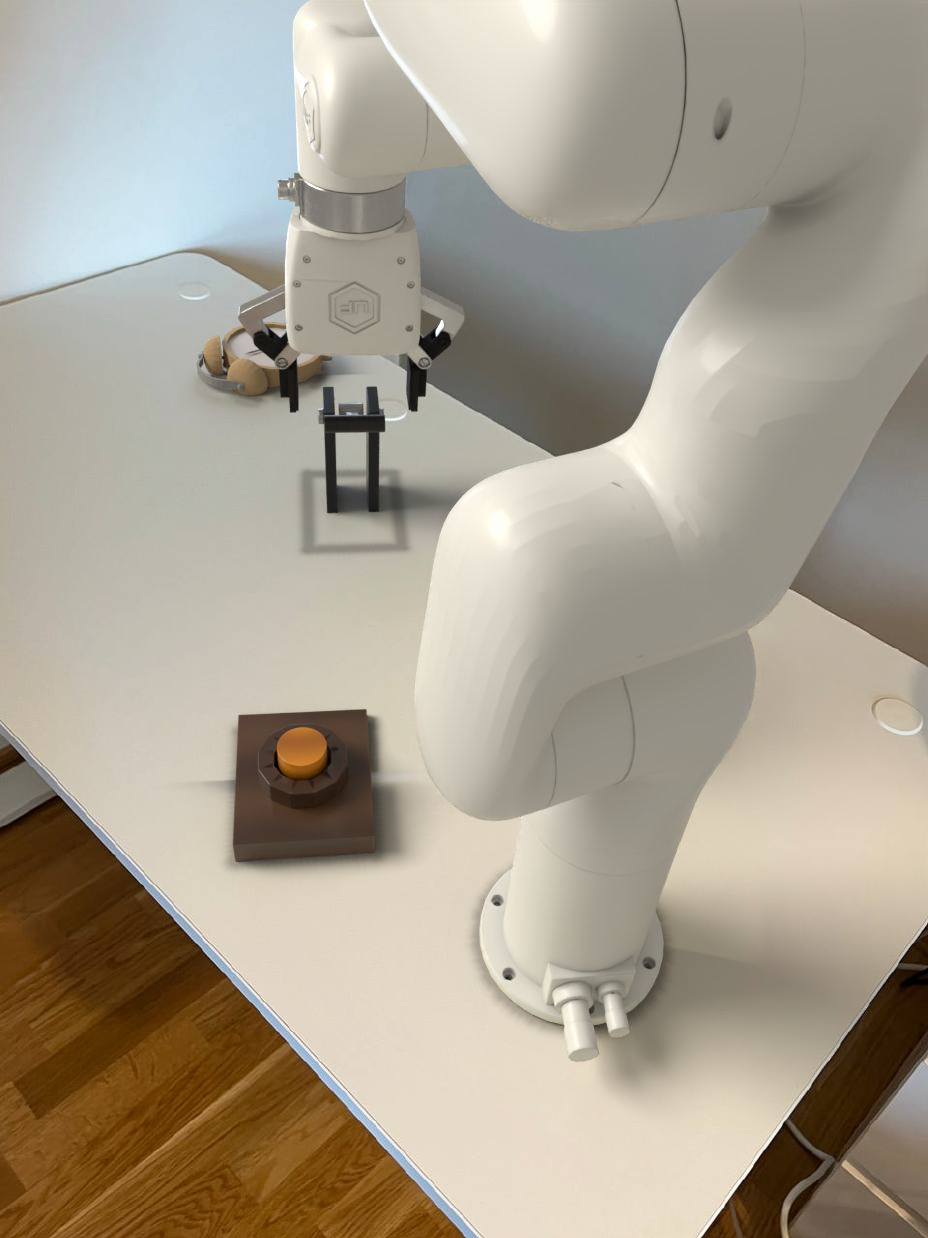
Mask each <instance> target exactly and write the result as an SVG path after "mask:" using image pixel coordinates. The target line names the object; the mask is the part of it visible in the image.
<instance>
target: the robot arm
mask: <svg viewBox="0 0 928 1238" xmlns="http://www.w3.org/2000/svg"><path fill="white" fill-rule="evenodd" d="M292 56H293V57H292V58H293V60H292V61H293V80H294V81H293V82H294V104H295V105H294V107H295V131H296V154H297V155H296V156H297V157H296V158H297V172H294V173H293V177H291V176H289V177H287V178H288V179H283V178H282V179H281V178H277V195H278V196H277V197H278V200H279V201H280V200H281V201H282V200H284V201H285V200H287V201H289V203H290V202H291V203H292V202H293V203H294V206H295V207H294V208H293V209H292V210H291V214H290V218H289V221H288V222H289V223H288V227H287V234H286V241H285V243H286V244H285V260H284V284H282V285H280V286H278V287H276V288H274V289H271V290H270V291H268V292H265V293H263V294H261V295H259V296H257V297H255V298H253V299H251V300H249V301H246V302H244V303H242V304H241V305H239V307H238V316H237V319H238V321H239V323H240V324H241V326H243V327H244V329H245V330H246V332H247V333H248V335H249V336H251V338H252V339H253V342H254V345H255V346H256V347H257V348H258V349H259V350H261V351H262V352H263V353H264V354H266V355H267V356H268V357H269V358H270V359H272V360H273V361H274V364H275V366H276V367H277V368H278V369H279V380H280V387H279V393H280V395H279V396H280V398H281V399H287V398H288V403H289V413H290V414H292V413H293V414H294V413H297V412H299V411H300V405H299V403H300V399H299V396H300V394H299V383H298V370H297V357H298V356H299V355H300V354H301V353H303V354H308V355H325V356H400V355H404V354H406V356H407V357H406V383H405V392H406V401H407V408H408V411H410V412H411V413H415V412H416V413H417V412H419V411H418V409H419V398H425V397H426V395H427V377H428V369H430V368H431V366H432V365H433V361H434V360H436V358H437V357H439V356H440V355H441V354H442V353H444V351H446V350H447V349H448V348H449V347H450V346H451V344H452V341H453V339H454V337H455V336H457V334H458V333H459V331H460V329H461V327H462V326H463V325H464V323H465V321H466V315H465V311H464V308H463V306H462V305H459V304H457V303H456V302H453V301H452V300H450V299H448V298H446V297H443V296H441V295H440V294H438V293H436V292H434V291H432V290H430V289H428V288H426V287H423V286H422V280H421V277H422V276H421V274H422V273H421V255H420V254H421V253H420V244H419V236H418V231H417V226H416V220H415V218H414V216H413V214H412V212H411V211H410V210H409V209H408V208H406V192H407V174H410V173H414V172H421V171H430V170H439V169H447V168H455V167H467V166H473V167H474V169H475V170H476V172H477V173H478V174H479V175H480V176H481V178H482V179H483V180H484V182H485V183H486V184H487V185H488V187H489V188H490V190H491V191H492V192H493V193H494V194H495V195H496V196H497V197H498V198H499V199H500V200H501V201H502V202H503V203H504V204H505V205H506V206H507V207H509V208H510V209H511V210H512V211H513V212H515V213H516V214H518V215H519V216H520V217H522V218H524V219H526V220H528V221H530V222H532V223H534V224H536V225H540V226H542V227H546V228H549V229H552V230H557V231H561V232H562V231H563V232H571V233H587V232H588V233H589V232H603V231H612V230H619V229H624V228H630V227H631V228H632V227H637V226H644V225H650V224H651V225H652V224H657V223H663V222H670V221H671V222H672V221H677V220H685V219H691V218H699V217H705V216H712V215H718V214H726V213H732V212H738V211H744V210H750V209H756V208H761V207H762V208H763V207H766V212H765V214H764V216H763V219H762V220H761V222H760V223H759V225H758V226H757V227H756V229H754V231H753V232H752V233H751V235H750V236H749V237H748V238H747V239H746V240H745V241H744V243H742V244H741V246H739V248H738V249H736V250H735V252H733V253H732V255H730V257H728V258H727V260H726V261H725V262H723V264H722V265H721V266H720V267H719V268H718V269H717V270H716V272H715V273H714V274H713V275H712V276H711V277H710V278H709V279H708V281H706V282H705V284H704V285H703V286H702V287H701V289H700V290H699V291H698V293H697V294H696V295H695V296H694V297H693V299H692V300H691V301H690V303H689V304H688V305H687V307H686V309H685V310H684V312H683V313H682V315H681V316H680V318H679V319H678V321H677V322H676V324H675V326H674V328H673V330H672V332H671V333H670V335H669V337H668V338H667V340H666V342H665V344H664V347H663V349H662V351H661V354H660V356H659V359H658V361H657V365H656V368H655V372H654V375H653V379H652V381H651V386H650V388H649V391H648V394H647V396H646V399H645V401H644V403H643V406H642V408H641V409H640V412H639V414H638V416H637V418H636V419H635V421H634V422H633V424H632V425H631V427H630V428H628V429H627V431H625V432H624V433H623V434H620V435H618V436H617V437H615V438H613V439H611V440H609V441H607V442H605V443H602V444H599V445H597V446H594V447H591V448H586V449H583V450H579V451H575V452H570V453H566V454H562V455H557V456H554V457H550V458H545V459H540V460H537V461H533V462H528V463H525V464H520V465H518V466H517V465H516V466H514V467H511V468H508V469H505V470H502V471H499V472H497V473H495V474H493V475H490V476H488V477H486V478H484V479H482V480H481V481H479V482H478V483H476V484H475V485H473V486H472V487H470V489H468V490H467V491H466V492H465V493H464V494H462V496H461V497H460V498H459V499H458V500H457V502H456V503H455V505H454V506H453V507H452V509H451V510H450V511H449V512H448V515H447V517H446V518H445V520H444V522H443V524H442V527H441V530H440V532H439V536H438V541H437V545H436V549H435V554H434V559H433V564H432V570H431V577H430V584H429V589H428V596H427V601H426V602H427V603H426V607H425V616H424V621H423V628H422V634H421V640H420V644H419V645H420V646H419V651H418V652H419V653H418V657H417V665H416V671H415V672H416V673H415V681H414V695H413V696H414V697H413V707H414V708H413V711H414V724H415V732H416V740H417V745H418V749H419V752H420V756H421V758H422V761H423V765H424V767H425V769H426V772H427V774H428V777H429V779H430V780H431V782H432V784H433V785H434V786H435V788H436V789H437V791H438V792H439V793H440V794H441V796H442V797H443V798H444V799H445V800H446V801H447V802H448V803H449V804H450V805H451V806H453V807H454V808H455V809H456V810H458V811H460V812H461V813H463V814H465V815H467V816H468V817H472V818H474V819H477V820H481V821H487V822H502V821H509V820H510V821H511V820H514V819H517V818H520V821H519V827H518V833H517V837H516V838H517V839H516V844H515V850H514V855H513V862H512V867H511V868H510V869H508V871H506V872H505V873H504V874H502V875H501V876H500V878H499V879H498V880H497V881H496V882H495V883H494V885H492V887H491V889H490V891H489V892H488V894H487V896H486V897H485V899H484V900H485V901H484V904H483V907H482V911H481V914H480V921H479V930H478V931H479V932H478V933H479V946H480V951H481V954H482V959H483V962H484V964H485V966H486V968H487V970H488V973H489V975H490V977H491V978H492V979H493V981H494V982H495V984H496V985H497V987H498V988H499V990H500V991H501V992H502V993H503V994H504V995H506V997H507V998H509V999H510V1001H512V1002H513V1003H514V1004H515V1005H517V1006H518V1007H520V1008H521V1009H522V1010H524V1011H526V1012H527V1013H528V1014H530V1015H533V1016H535V1017H537V1018H539V1019H542V1020H544V1021H547V1022H550V1023H554V1024H558V1025H562V1026H564V1028H563V1035H564V1041H565V1046H566V1051H567V1057H568V1059H569V1060H570V1061H571V1062H576V1063H579V1062H580V1063H581V1062H588V1061H591V1060H593V1059H595V1058H597V1057H598V1056H599V1055H600V1051H599V1045H598V1040H597V1035H596V1031H595V1026H597V1025H603V1024H606V1027H607V1032H608V1036H609V1037H611V1038H618V1039H619V1038H623V1037H625V1036H628V1035H629V1034H630V1033H631V1029H630V1023H629V1019H628V1015H627V1014H628V1013H630V1012H631V1011H633V1010H634V1009H635V1008H636V1007H637V1006H638V1005H639V1004H640V1003H641V1002H643V1001H644V1000H645V999H646V998H647V996H648V994H649V993H650V991H651V990H652V989H653V987H654V985H655V982H656V980H657V978H658V975H659V973H660V970H661V966H662V962H663V958H664V945H665V943H664V942H665V941H664V935H663V929H662V925H661V921H660V919H659V916H658V914H657V911H656V910H657V907H658V904H659V901H660V900H661V899H660V898H661V896H662V893H663V890H664V887H665V886H666V885H665V884H666V882H667V879H668V877H669V874H670V871H671V869H672V865H673V863H674V861H675V857H676V854H677V851H678V849H679V846H680V844H681V842H682V839H683V837H684V834H685V832H686V829H687V826H688V824H689V820H690V819H691V816H692V813H693V810H694V808H695V805H696V803H697V801H698V799H699V797H700V795H701V793H702V791H703V789H704V787H705V786H706V784H707V783H708V781H709V780H710V779H711V777H712V776H713V774H714V772H715V771H716V770H717V768H719V765H720V764H722V761H723V760H724V758H725V757H726V756H727V754H728V753H729V752H730V750H731V749H732V747H733V746H734V744H735V742H736V741H737V738H738V737H739V735H740V734H741V732H742V729H743V728H744V725H745V723H746V721H747V719H748V717H749V713H750V711H751V708H752V705H753V700H754V697H755V690H756V681H757V680H756V679H757V664H756V655H755V649H754V646H753V642H752V638H751V637H750V634H749V631H750V630H751V629H753V628H755V627H756V626H757V625H759V624H760V623H762V622H763V621H764V620H765V619H766V618H767V617H768V616H769V615H771V614H772V612H773V611H774V610H775V609H776V607H777V606H778V605H779V604H780V603H781V601H782V600H783V598H784V596H785V595H786V593H787V592H788V591H789V589H790V588H791V585H792V584H793V582H794V581H795V578H796V577H797V575H798V574H799V573H800V570H801V568H802V567H803V565H804V563H805V561H806V560H807V558H808V556H809V554H810V553H811V551H812V549H813V548H814V545H815V544H816V542H817V541H818V538H820V535H821V533H822V532H823V530H824V528H825V526H826V525H827V523H828V521H829V520H830V518H831V516H832V514H833V512H834V511H835V509H836V507H837V506H838V504H839V502H840V501H841V498H842V496H843V495H844V492H845V491H846V490H847V488H848V486H849V485H850V483H851V481H852V479H853V478H854V476H855V474H856V473H857V471H858V469H859V467H860V465H861V464H862V461H863V459H864V457H865V455H866V454H867V452H868V449H869V447H870V445H871V443H872V441H873V440H874V438H875V436H876V434H877V433H878V431H879V429H880V428H881V426H882V424H883V423H884V421H885V419H886V417H887V416H888V414H889V412H890V410H891V409H892V407H893V406H894V405H895V403H896V401H897V400H898V398H899V397H900V395H901V394H902V392H903V391H904V390H905V388H906V386H907V385H908V383H909V381H910V380H911V379H912V377H913V376H914V374H916V373H915V372H916V371H917V370H918V368H919V367H920V365H921V364H922V363H923V361H924V359H926V357H927V355H928V0H308V1H307V2H305V3H304V4H303V5H302V6H301V7H299V9H298V10H297V12H296V14H295V16H294V19H293V23H292ZM283 310H284V311H285V312H284V313H285V324H286V330H285V331H284V332H283V333H282V334H281V335H280V336H278V335H277V334H276V333H274V332H273V331H272V330H271V329H270V328H268V327H267V326H266V325H265V324H264V323H263V322H264V320H265V319H267V318H269V317H272V316H273V315H275V314H277V313H279V312H281V311H283ZM422 311H423V312H425V313H427V314H429V315H431V316H433V317H435V318H437V319H439V320H440V322H439V325H437V326H436V327H434V329H432V330H431V331H430V332H428V333H427V334H426V335H424V334H422V332H421V327H422ZM506 978H507V979H506ZM508 978H509V979H508Z"/></svg>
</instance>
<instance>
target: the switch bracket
mask: <svg viewBox="0 0 928 1238" xmlns="http://www.w3.org/2000/svg"><path fill="white" fill-rule="evenodd" d="M379 401H380V400H379V391H378V386H376V385H374V386H369V385H368V386H366V388H365V405H366V406H365V415H385V409H384V408H383V407H380V403H379ZM322 404H323V405H322V406H323V408H317V419H318V425H323V436H324V437H323V438H324V439H323V441H324V465H325V466H324V468H325V470H324V471H325V499H326V514H337V513H338V482H337V481H338V479H337V439H336V437H337V436H336V434H337V433H325V425H324V416H325V415H336V406H335V404H336V403H335V387H334V386H322ZM380 433H381V432H365V441H366V442H365V470H366V471H365V481H366V482H365V485H366V486H365V487H366V498H367V511H368V513H379V512H380V435H381V434H380Z"/></svg>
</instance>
